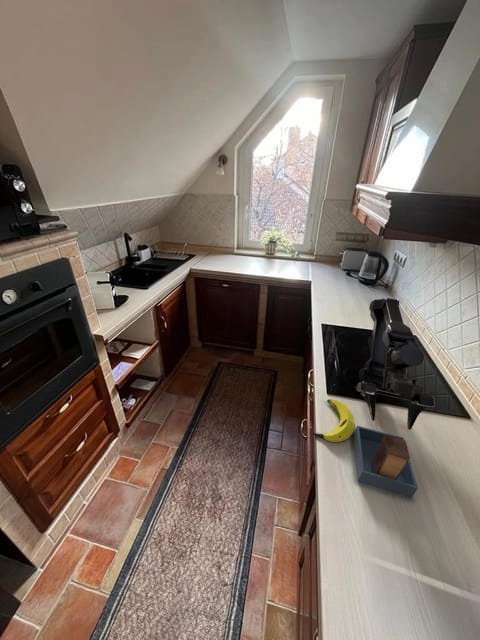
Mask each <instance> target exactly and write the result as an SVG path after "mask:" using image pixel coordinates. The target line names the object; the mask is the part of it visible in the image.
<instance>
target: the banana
mask: <svg viewBox="0 0 480 640" xmlns="http://www.w3.org/2000/svg"><path fill="white" fill-rule="evenodd" d="M326 401H327V403H328V404H329V405H331V406H332V407H333V408H334V409H335V411H336V412H337V413H338V416H339V418H340V421H339V424H338V425H337V427H336V428H335V429H334V430H333V431H331V432H330V433H318V432H317V433H316V432H315V433H314V432H313V434H312V435H313V436H315V437H317V438H318V439H324V440H326V441H327V442H329V443H341V442H343V441H346V440H348V439H349V438H350V437H351V436H353V434H354V431H355V428H356V423H355V418H354V414H353V413H352V411H351V409H350V408H349V407H348V406H347V405H346V404H345V403H344V402H342V401H340V400H337V399H326Z"/></svg>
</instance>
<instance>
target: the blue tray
mask: <svg viewBox="0 0 480 640" xmlns="http://www.w3.org/2000/svg"><path fill="white" fill-rule="evenodd" d="M384 435H387V436H391V437H395V438H398V439H402V440H405V438H404V437H403V436H398V435H395V434H391V433H387V432H384V431H380V430H376V429H372V428H368V427H364V426H360V425H356V426H355V428H354V431H353V433H352V436H353V446H354V447H353V448H354V458H355V467H356V468H355V469H356V480H357V482H358V483H361V484H364V485H368V486H371V487H374V488H378V489H381V490H384V491H387V492H391V493H393V494H397V495H400V496H403V497H407V498H410V499H412V498H413V496H414V495H415V494H416V492H417V490H418V489H419V487H418V483H417V481H416V477H415V473H414V470H413V466H412V463H411V460H410V459H411V458H410V459H409V461H408V462H407V464H406V466H405V467H404V469H403V470H402V472H401V474H400V475H399V477H398V479H397V480H394V479H391V478H387V477H384V476H381V475H377V474H374V473H372V470H371V462H372V460H373V458H374V456H375V453H376V451H377V449H378V447H379V445H380V443H381V441H382V439H383V437H384Z"/></svg>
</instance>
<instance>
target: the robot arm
mask: <svg viewBox="0 0 480 640" xmlns="http://www.w3.org/2000/svg"><path fill="white" fill-rule="evenodd" d="M368 310H369V311H370V312H369V316H370V319H371V321H372V322H373V326H372V336H371V345H370V346H371V347H370V355H369V358H368V359H367V361H365V363H364V364H363V365H364V366H363V367H361V368H359V371H358V378H359V382H358V383H357V384H356V386H354V390H355V391H356V392H358V394H359V395H360V396H361V397H363V399H364V400H365V402H366V404H367V408H368V412H369V415H370V418H371V421H373V422H375V420H376V400H377V397H379V396H380V395H383V396H387V397H391V398H396V399H400V400H404V401H409V402H410V403H409V404H408V406H407V422H406V424H407V430H409V431H411V430H412V428H413V427H414V425H415V423H416V421H417V419H418V417H419V415H420V414H422V412H423V411H425V410H429V409H430V408H435V407H436V400H435V397H434V396H432V395H428V394H423V391H424V381H423V380H420V379H417V378H416V379H415V378H413V379H412V380H410V374H408V369H410V368H413V367H417V366H420V365H421V364H422V363H424V361H425V354H424V352H423V350H422V349H421V348H420V345H419V343H418V342H417V340H416V338H415V335H414V333H413V331H412V329H411V327H409V326H408V325H407V324H405V323H404V319H403V316H402V312H401V309H400V300H399V299H397V298H390V297H382V298H379V299H378V298H377V299H375V298H374V299H373V300H372V301H370V303H369V309H368ZM386 347H387V348H389V350H388V351H386ZM385 351H386V352H385Z"/></svg>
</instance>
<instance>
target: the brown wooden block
mask: <svg viewBox="0 0 480 640" xmlns="http://www.w3.org/2000/svg"><path fill="white" fill-rule="evenodd" d="M406 441H407V440H405V439H404V440H402V439H398V438H395V437H391V436H387V435H384V437H383V439H382V441H381V443H380V445H379V447H378V449H377V451H376V453H375V456H374V458H373V460H372V462H371V470H372V473H374V474H377V475H381V476H384V477H387V478H391V479H394V480H397V479H398V477H399V475H400V474H401V472H402V470H403V469H404V467H405V466H406V464H407V462H408V461H409V459H411V455H410V452H409V448H408V445H407V442H406Z"/></svg>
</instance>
